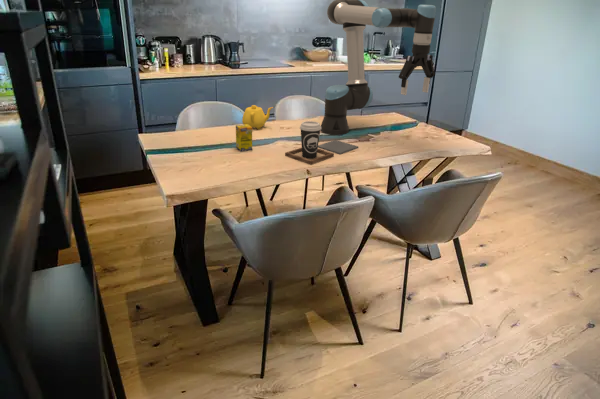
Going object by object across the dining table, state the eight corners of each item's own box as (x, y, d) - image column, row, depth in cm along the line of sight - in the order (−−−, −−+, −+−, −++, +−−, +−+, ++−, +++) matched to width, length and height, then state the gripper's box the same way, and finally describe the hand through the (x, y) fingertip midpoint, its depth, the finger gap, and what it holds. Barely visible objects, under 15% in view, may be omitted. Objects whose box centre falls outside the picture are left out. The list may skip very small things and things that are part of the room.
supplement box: (240, 151, 198) (239, 128, 193) (236, 148, 203) (235, 125, 198) (252, 150, 200) (252, 127, 196) (248, 146, 205) (247, 123, 201)
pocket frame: (285, 155, 195) (285, 152, 194) (308, 148, 205) (308, 145, 204) (310, 164, 185) (310, 161, 185) (333, 156, 196) (333, 153, 195)
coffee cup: (323, 154, 197) (325, 122, 191) (315, 161, 189) (316, 127, 183) (304, 151, 201) (305, 119, 194) (295, 157, 193) (296, 124, 187)
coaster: (316, 147, 207) (317, 145, 206) (335, 141, 216) (335, 139, 216) (340, 154, 198) (340, 152, 198) (358, 148, 208) (358, 146, 207)
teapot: (253, 132, 226) (253, 110, 221) (236, 127, 235) (235, 105, 230) (273, 128, 235) (273, 106, 230) (256, 122, 244) (255, 101, 239)
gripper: (407, 45, 179) (400, 97, 188) (448, 43, 192) (439, 92, 201) (394, 43, 185) (388, 93, 194) (435, 42, 197) (427, 89, 206)
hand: (414, 93), depth 197 cm, fingers open, 13 cm apart
